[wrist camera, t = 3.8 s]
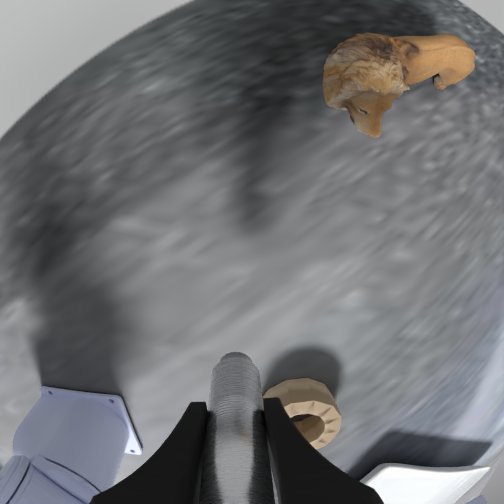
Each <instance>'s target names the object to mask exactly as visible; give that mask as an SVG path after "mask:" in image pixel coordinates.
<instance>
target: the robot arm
mask: <svg viewBox="0 0 504 504" xmlns="http://www.w3.org/2000/svg"><path fill="white" fill-rule="evenodd" d="M39 390H40V393H41V395H42V396H41V398H40V399H39V400H38V402H37V403H36V404H35V405H34V407H33V408H32V409H31V411H30V412H29V413H28V415H27V416H26V417H25V419H24V420H23V422H22V423H21V424H20V426H19V427H18V429H17V430H16V433H15V435H14V439H13V454H14V456H13V457H11V458H10V460H9V461H8V462H7V463H6V464H5V466H4V467H3V468H2V470H1V471H0V504H199V495H200V484H201V473H202V462H203V452H204V442H205V432H206V423H207V414H208V411H207V406H206V402H191V403H190V404H189V406H188V408H187V409H186V411H185V413H184V414H183V416H182V418H181V419H180V421H179V422H178V424H177V425H176V427H175V428H174V430H173V431H172V433H171V434H170V435H169V437H168V438H167V439H166V440H165V442H164V443H163V444H162V445H161V447H160V448H159V449H158V450H157V451H156V452H155V453H154V454H153V455H152V456H151V457H150V458H149V459H148V460H147V461H146V462H145V463H144V464H143V465H142V466H141V467H139V468H138V469H137V470H136V471H135V472H133V473H132V474H131V475H129V476H128V477H127V478H125V479H124V480H122V481H121V482H119V483H118V484H116V485H114V482H115V479H116V476H117V473H118V470H119V467H120V464H121V461H122V458H123V456H124V453H129V454H138V455H140V454H142V452H143V450H142V448H141V445H140V443H139V441H138V438H137V436H136V434H135V431H134V429H133V426H132V424H131V421H130V419H129V416H128V413H127V411H126V408H125V405H124V403H123V400H122V398H121V397H120V396H117V395H108V394H98V393H89V392H80V391H73V390H65V389H59V388H52V387H46V386H41V387H40V388H39ZM111 399H112V400H113V401H112V400H111ZM263 406H264V417H265V426H266V433H267V441H268V450H269V458H270V464H271V468H272V472H273V477H274V481H275V485H276V490H277V495H278V502H279V504H384V502H383V500H382V499H381V497H380V496H379V494H378V493H377V492H376V490H375V489H374V488H372V487H370V486H368V485H365V484H363V483H362V482H360V481H358V480H356V479H354V478H353V477H351V476H349V475H348V474H346V473H345V472H343V471H342V470H340V469H339V468H337V467H336V466H335V465H333V464H332V463H331V462H329V461H328V460H327V459H326V458H325V457H323V456H322V455H321V454H320V453H319V452H318V451H317V450H316V449H315V448H314V447H313V446H312V445H311V444H310V443H309V442H308V441H307V439H306V438H305V437H304V436H303V435H302V434H301V432H300V431H299V430H298V428H297V427H296V426H295V424H294V423H293V421H292V420H291V418H290V417H289V415H288V414H287V412H286V410H285V408H284V407H283V405H282V402H281V400H280V398H278V397H273V398H263ZM113 485H114V486H113ZM466 504H488V503H487V501H486V500H485V498H484V497H483V495H480V496H479V497H477V498H475V499H473V500H472V501H470V502H468V503H466Z"/></svg>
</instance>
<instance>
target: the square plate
mask: <svg viewBox="0 0 504 504" xmlns="http://www.w3.org/2000/svg"><path fill="white" fill-rule="evenodd" d="M489 469H490V466H462V467H424V466H415V465H408V464H399V463H383V464H380V465H378V466H377V467H376V468H375V469H373V470H372V471H371V472H370V473H369V474H367V475H366V476H365V477H364V478H363V479H361V480H360V482H362V483H363V484H365V485H368V486H370V487H372V488H374V489H375V490H376V492H377V493H378V494H379V496H380V497H381V499H382V500H383V502H384V504H453V503H454V502H455V501H457V500H458V499H459V498H460V497H461V496H462V495H463V494H464V493H465V492H467V491H468V490H469V489H470V488H471V487H472V486H473V485H474V484H475V483H476V482H477V481H478V480H479V479H480V478H481V477H482V476H483V475H484V474H485V473H486V472H487V471H488V470H489Z"/></svg>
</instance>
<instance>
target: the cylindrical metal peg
mask: <svg viewBox="0 0 504 504" xmlns="http://www.w3.org/2000/svg"><path fill="white" fill-rule="evenodd" d="M199 504H275V499H274V491H273V483H272V475H271V466H270V458H269V450H268V441H267V433H266V426H265V417H264V408H263V399H262V391H261V382H260V374H259V370H258V368H257V367H256V366H255V365H254V364H253V363H252V361H251V359H250V358H249V357H248V356H247V355H245V354H243V353H240V352H231V353H228V354H226V355H224V356H223V357H222V358H221V360H220V362H219V363H218V364H217V365H216V366H215V367H214V369H213V371H212V378H211V386H210V395H209V404H208V414H207V423H206V432H205V442H204V452H203V462H202V473H201V484H200V495H199Z"/></svg>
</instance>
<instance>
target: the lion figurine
mask: <svg viewBox="0 0 504 504" xmlns="http://www.w3.org/2000/svg"><path fill="white" fill-rule="evenodd" d="M474 59H475V53H474V51H473V50H472V49H471V48H470V47H469V46H468V44H467V43H466V42H465V41H463V40H462V39H461V38H459V37H457V36H454V35H452V34H438V35H434V36H399V37H393V38H392V37H390V36H388V35H385V34H383V35H381V34H375V33H364V34H358V33H357V34H354V36H353V37H351V38H350V39H347V40H345V41H344V42H342V43H339V44H338V46H337V47H336V48H334V49H333V51H332V53H331V54H329V55H328V57H327V59H326V63H325V64H324V71H325V72H324V73H323V83H322V86H323V93H324V96H325V97H324V99H325V101H326V104H327V105H328V106H330V107H334V108H335V109H336V110H339V109H342V110H348V111H349V114H350V118H351V120H352V123H353V125H354V126H355V128H356V129H357V130H358V131H359V132H361V133H364V134H367V135H368V136H370V137H379V136H380V135H381V133H382V115H383V113H385V112H386V111H387V110H389V109H390V108H391V106H392V102H393V100H394V99H398V98H399V96H400V95H401V94H402V93H403V91H404V90H409V89H410V88H409V86H408V85H409V84H413V83H417V82H421V81H423V80H425V79H427V78H429V77H432V76H434V75H436V74H437V73H439V75H440V76H437V77H435V78H434V85H435V86H436V88H438V89H439V90H443V89H444V88H446V87H447V86H448V85H450V84H455V83H456V82H458V81H461V80H462V79H464V78H465V77H466V76H467V75H469V74H470V73H471V72H472V71H473V70H474V67H475V63H474Z"/></svg>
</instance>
